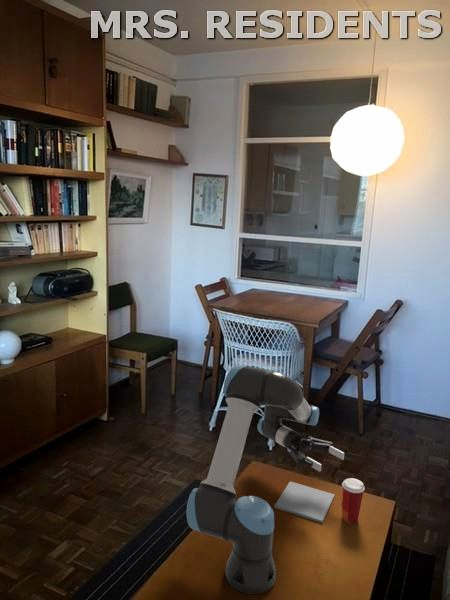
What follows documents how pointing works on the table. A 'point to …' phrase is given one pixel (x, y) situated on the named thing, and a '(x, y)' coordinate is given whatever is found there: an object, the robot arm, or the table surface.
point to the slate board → (305, 501)
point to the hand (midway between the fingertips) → (332, 462)
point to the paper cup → (351, 499)
